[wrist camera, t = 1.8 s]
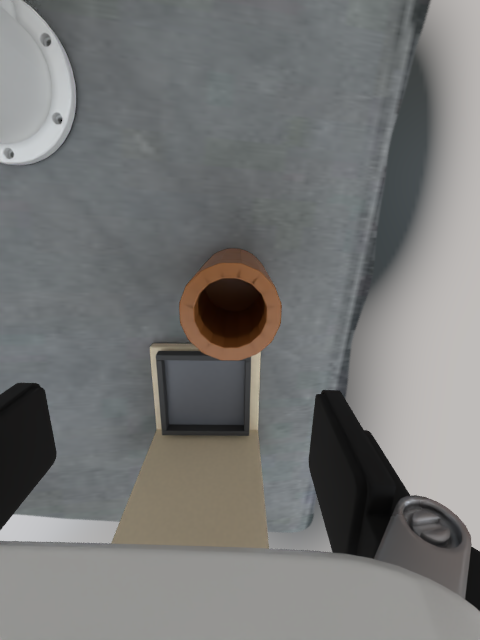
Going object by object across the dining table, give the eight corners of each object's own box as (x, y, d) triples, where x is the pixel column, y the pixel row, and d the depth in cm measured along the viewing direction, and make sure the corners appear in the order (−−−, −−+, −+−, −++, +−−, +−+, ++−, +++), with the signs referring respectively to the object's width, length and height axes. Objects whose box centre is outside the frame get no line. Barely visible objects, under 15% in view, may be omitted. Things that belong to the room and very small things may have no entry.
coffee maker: (151, 343, 34) (-45, 609, 10) (260, 343, 34) (310, 610, 10) (161, 460, 39) (43, 821, 15) (256, 461, 39) (284, 820, 15)
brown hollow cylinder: (200, 247, 31) (176, 262, 19) (267, 248, 31) (284, 263, 19) (201, 312, 33) (181, 360, 21) (264, 313, 33) (278, 361, 21)
